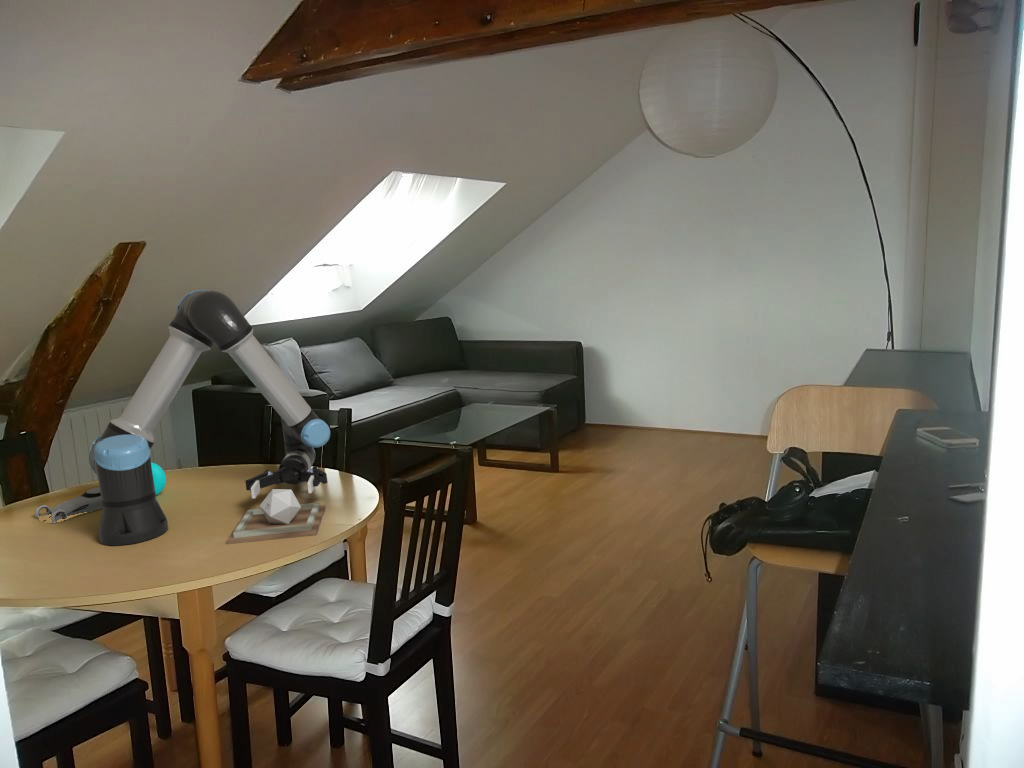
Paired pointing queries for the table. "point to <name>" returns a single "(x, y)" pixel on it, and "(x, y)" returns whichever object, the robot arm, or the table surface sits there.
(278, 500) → the die
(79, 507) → the car model
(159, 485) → the turquoise ball
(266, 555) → the table surface
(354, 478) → the table surface
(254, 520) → the dice tray
